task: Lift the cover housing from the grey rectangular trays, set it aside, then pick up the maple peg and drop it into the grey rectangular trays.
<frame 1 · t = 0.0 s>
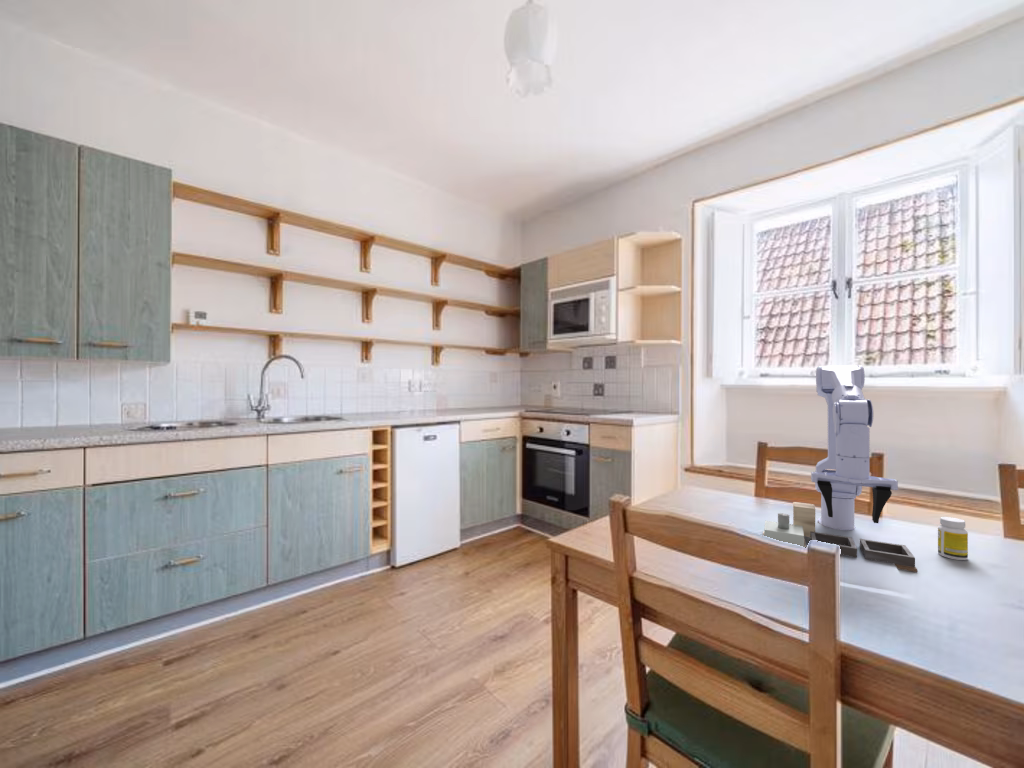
hand: (852, 518, 93), 10 cm above the table, fingers open, 7 cm apart
cover housing: (783, 539, 107), point 1 cm above the table, touching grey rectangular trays
supplement bottle: (952, 557, 98), on the table
maple peg: (804, 536, 111), on the table
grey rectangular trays: (831, 550, 102), on the table
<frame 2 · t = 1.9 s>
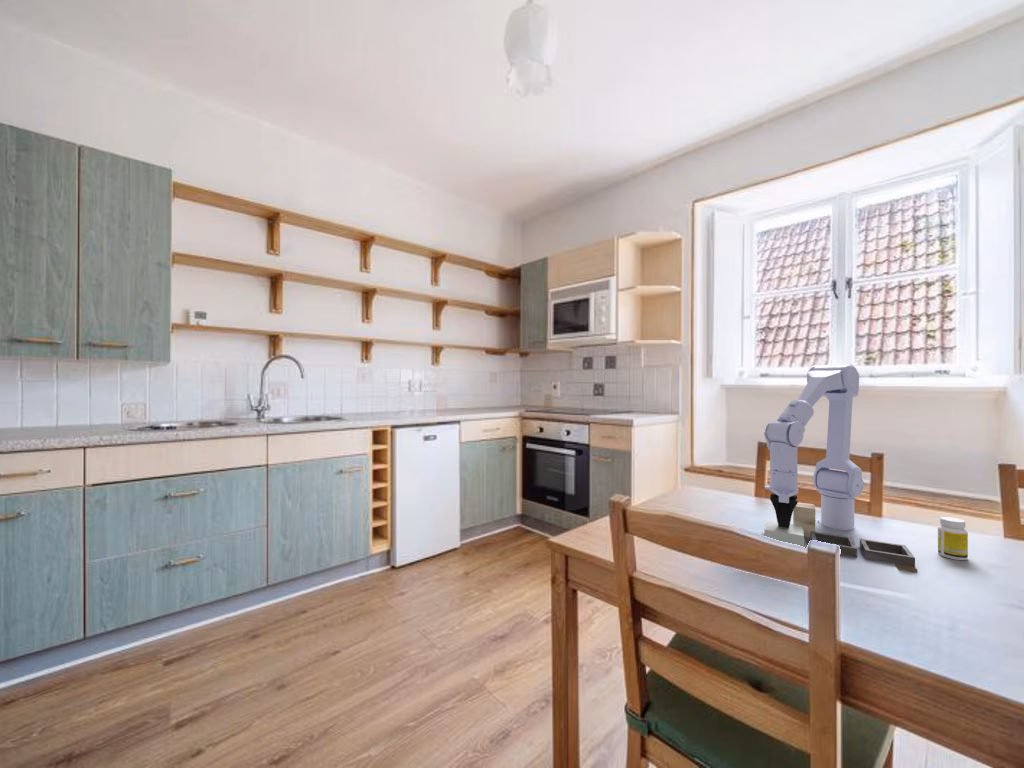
hand: (783, 525, 107), 4 cm above the table, fingers closed on cover housing, 2 cm apart
cover housing: (783, 539, 107), point 1 cm above the table, touching gripper, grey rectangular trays
everything else where it was.
when the fingers open (5 cm above the table, at t = 5.7 s): cover housing drops 2 cm, on the table.
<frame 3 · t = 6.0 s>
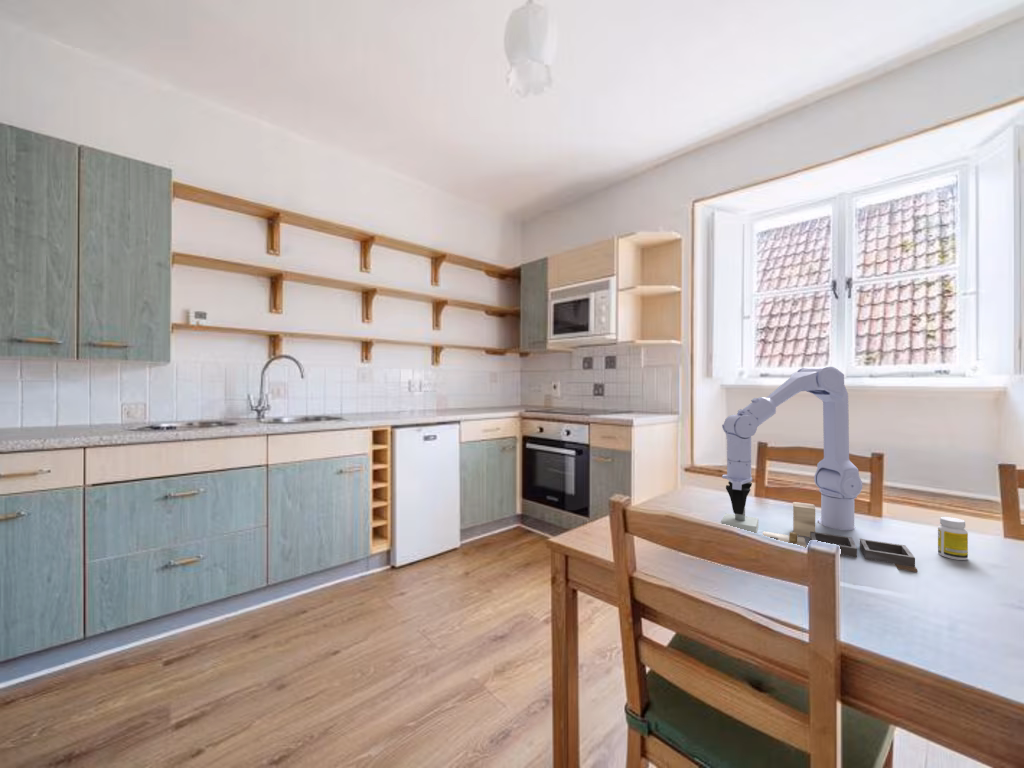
hand: (739, 511, 115), 5 cm above the table, fingers open, 4 cm apart
cover housing: (740, 530, 115), on the table
everything else where it was.
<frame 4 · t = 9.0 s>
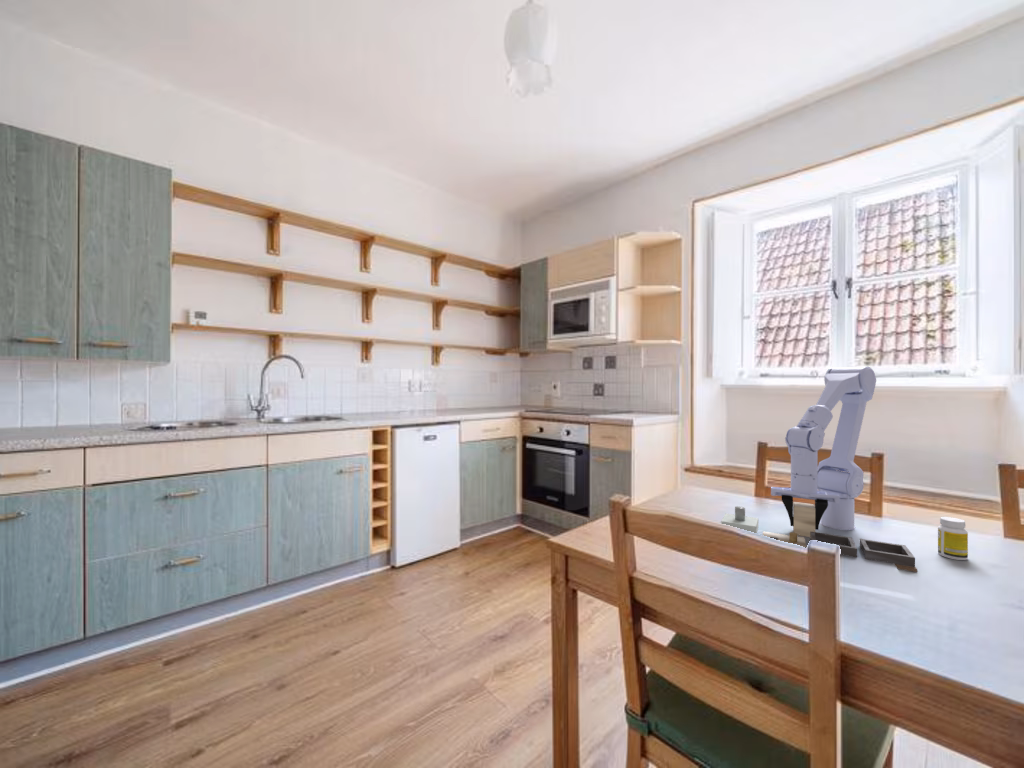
hand: (804, 526, 111), 2 cm above the table, fingers closed on maple peg, 4 cm apart
maple peg: (804, 536, 111), on the table, touching gripper
everything else where it was.
when the fingers open (4 cm above the table, at t = 14.4 s): maple peg stays where it is, resting on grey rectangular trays.
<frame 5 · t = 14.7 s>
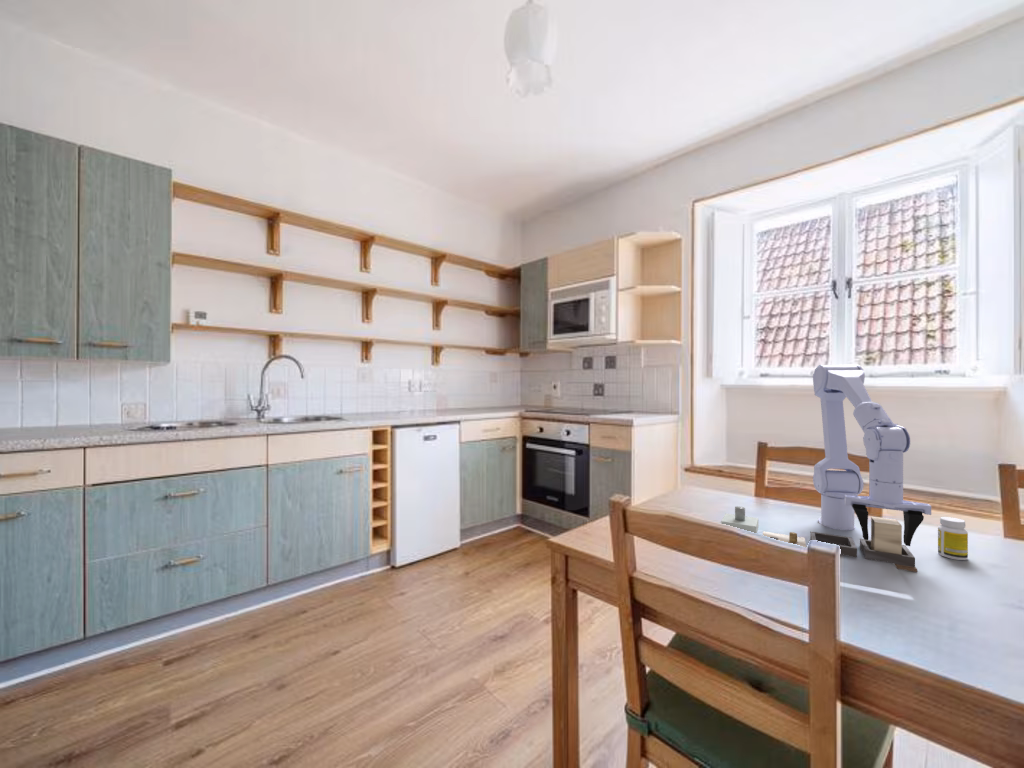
hand: (885, 541, 97), 4 cm above the table, fingers open, 6 cm apart
maple peg: (885, 556, 96), point 1 cm above the table, touching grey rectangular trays
everything else where it was.
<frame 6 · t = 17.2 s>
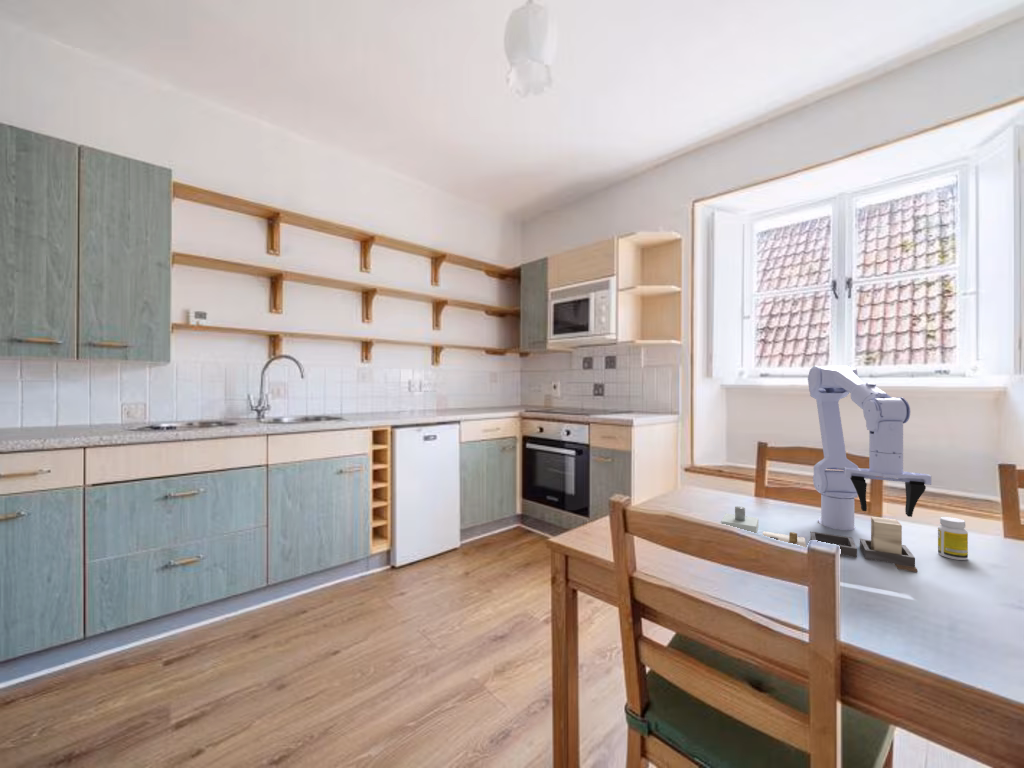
hand: (885, 512, 96), 10 cm above the table, fingers open, 7 cm apart
nothing on the table moved.
at the end: maple peg 0.1 cm from the target spot on the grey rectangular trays, point 0.6 cm above the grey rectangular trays's base; maple peg tilted 0°; cover housing moved 10.6 cm from its start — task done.
